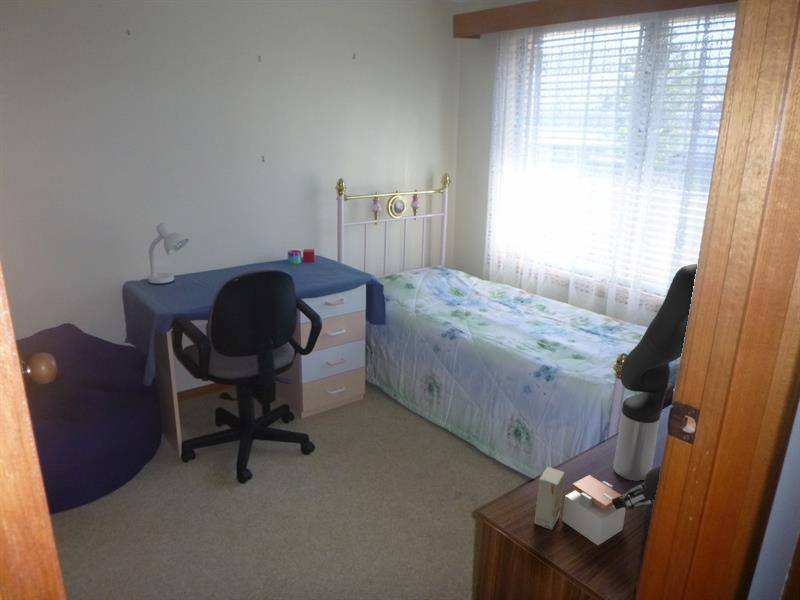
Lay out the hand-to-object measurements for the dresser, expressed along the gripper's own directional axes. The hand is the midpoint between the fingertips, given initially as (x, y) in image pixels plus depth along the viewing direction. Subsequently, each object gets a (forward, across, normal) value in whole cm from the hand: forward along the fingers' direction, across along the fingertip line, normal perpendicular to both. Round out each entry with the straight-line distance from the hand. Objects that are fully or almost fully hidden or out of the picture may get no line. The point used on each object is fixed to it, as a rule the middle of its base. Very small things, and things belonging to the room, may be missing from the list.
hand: (615, 503), depth 131 cm
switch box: (+10, 0, +3) cm, 10 cm away
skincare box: (+16, +7, -2) cm, 17 cm away
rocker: (+5, 0, -3) cm, 5 cm away
